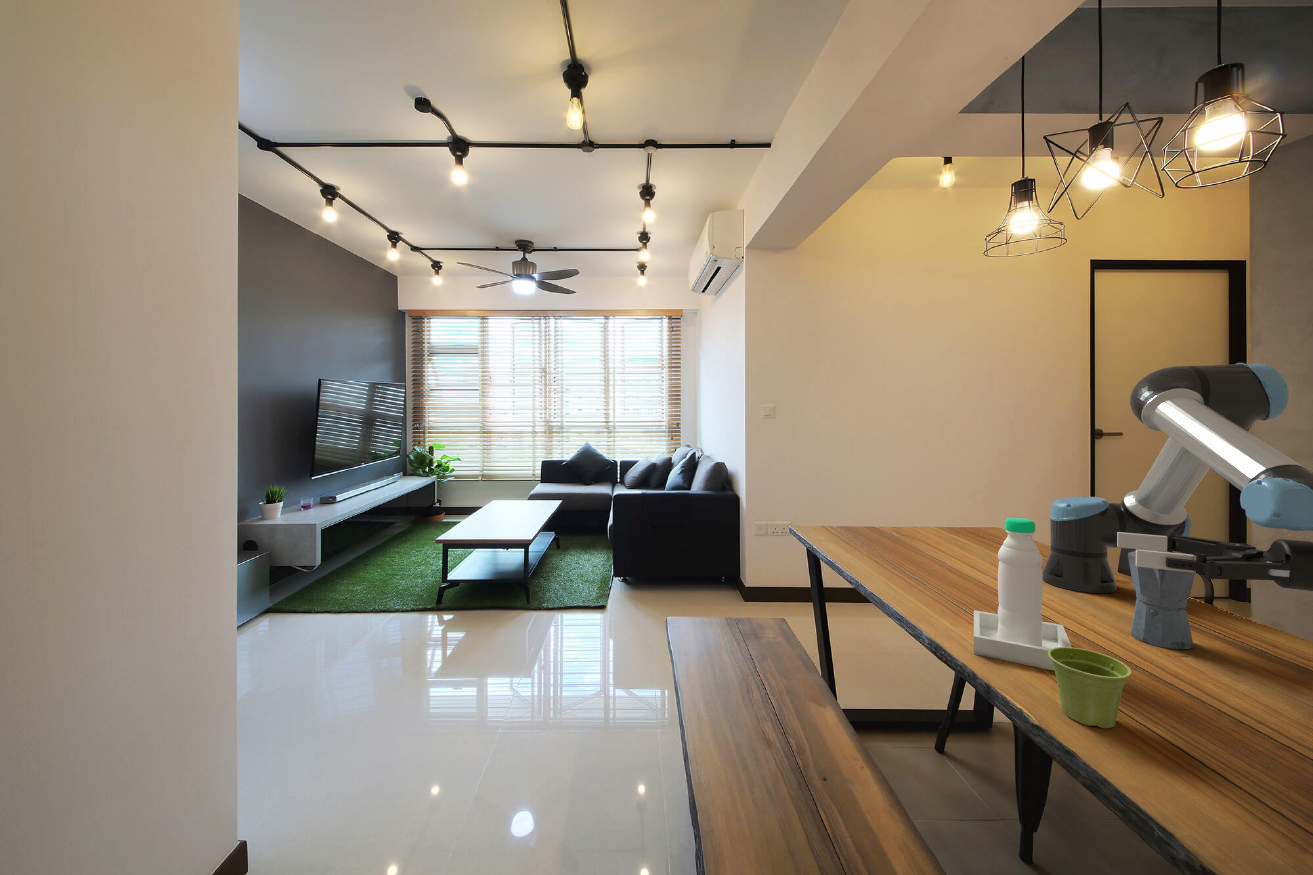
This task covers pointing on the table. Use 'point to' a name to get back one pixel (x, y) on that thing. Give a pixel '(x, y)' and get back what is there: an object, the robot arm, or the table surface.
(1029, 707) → the table surface
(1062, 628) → the white tray
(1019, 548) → the water bottle
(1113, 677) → the plant pot
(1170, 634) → the moka pot
